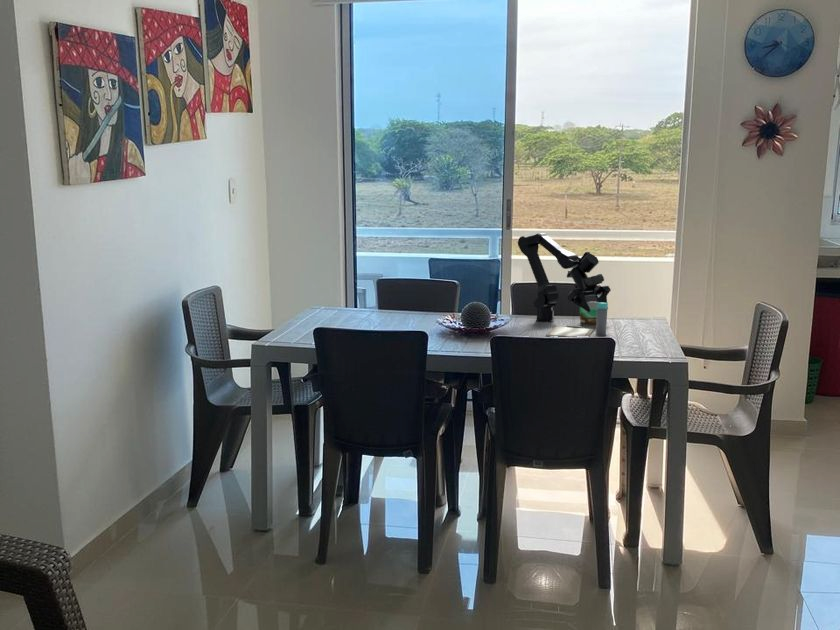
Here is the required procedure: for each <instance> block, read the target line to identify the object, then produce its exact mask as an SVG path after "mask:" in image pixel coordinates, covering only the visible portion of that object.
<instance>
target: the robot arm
mask: <svg viewBox="0 0 840 630" xmlns="http://www.w3.org/2000/svg"><path fill="white" fill-rule="evenodd" d="M517 240H518V241H517V246H518V248H519V250H520V252H521V253H522V254H523V255H524V256H526V258H527V261H528V263H529V265H530V269H531V271H532V274H533V276H534V279H535V281H536V285H537V286H538V287H537V293H536V294H537V298H536V299H535V300H534V301H533V306H534V308H536V319H535V322H541V323H542V322H543V323H552V321H554V316H555V313H554V312H555V311H554V309H553V308H555V307H556V305H557V302H558V301H559V298H560V295H559V291H558V289H557V286H556V284H551V283H550V281H549V279H548V276H547V273H546V271H545V269H544V265H543V263H542V260H541V258H540V255H539V253H538V252H539V248H540V247H539V245H540V246H542V247H543V249H545V250H546V251H548V253H550V254H551V255H552V256H553V257H555V258H556V261H557V263H558V265H559V266H560V267H561V268H562V269H565V270H567V274H566V278H571V279H572V280H573V282H574V283H575V285H574V288H573V289H572V290H571V291H570V292H569V293H568V295H567V300H568V302H569V303H572V304H575V305H577V306H579V308H580V307H581V308H583V309H584V310H586V311H587V312H590V308H589V306H588V304H587V302H588V301H587V300H586V297H591V296H592V297H593V296H594V297H595V299H596V302H605V303H608V298H607V296H608V295H609V293H610V292H611V288H610V286H609V285H601V286H599V287H598V285H599V284H603V282H604V281H605V278H604V275H603V274H602V273H599V274H596V275H592V276H588V275H587V274H588V273H591V272H592V270H593V269H595V267H597V265H598V264H599V262H600V261H599V259H598V257H597V256H595V255H594V254H592V253H591V252H590V251H586V252H584V253H583V255H582V256H581V257H579V256H578V254H576V253H574V252H572V251H569V250H567V249H565V248H563V246H561V245H560V244H558V243H557V242H556V241H555V240H553V239H552V238H551V237H550V236H549V235H548V233H545V232H542V233H541V232H540V233H536V234H533V235H522V236H520V237H519V238H518V239H517ZM568 269H570V270H568ZM597 287H598V288H597Z"/></svg>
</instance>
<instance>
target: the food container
mask: <svg viewBox="0 0 840 630" xmlns="http://www.w3.org/2000/svg"><path fill="white" fill-rule="evenodd" d="M586 302H587V304H588V306H589V308H590V312H587V311H586V310H584V309H583V308H581V307H580V306H579V321H580V324H581V325H586V326H596V321H597V303H598V301H593V300H591V301H586Z"/></svg>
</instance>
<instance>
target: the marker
mask: <svg viewBox="0 0 840 630" xmlns="http://www.w3.org/2000/svg"><path fill="white" fill-rule="evenodd" d="M597 302H598V301H597ZM608 310H609V302H607V303H605V302H598V303H597V321H596V325H595V336H597V335H600V336H599V337H605V336H607V323H608Z"/></svg>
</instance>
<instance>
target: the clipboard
mask: <svg viewBox="0 0 840 630" xmlns="http://www.w3.org/2000/svg"><path fill="white" fill-rule="evenodd" d="M594 331H595V329H594V328H587V327H586V328H585V327H582V326H581V325H569V324H567V325H566V326H560V325H555V326H554V327H553V328H551V329H550V330H549V331H548V333H547V334H545V337H546V336H558V337H577V336H589V335H590V334H591V335H592V333H593V332H594ZM591 335H590V336H591ZM590 336H589V337H590Z"/></svg>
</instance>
